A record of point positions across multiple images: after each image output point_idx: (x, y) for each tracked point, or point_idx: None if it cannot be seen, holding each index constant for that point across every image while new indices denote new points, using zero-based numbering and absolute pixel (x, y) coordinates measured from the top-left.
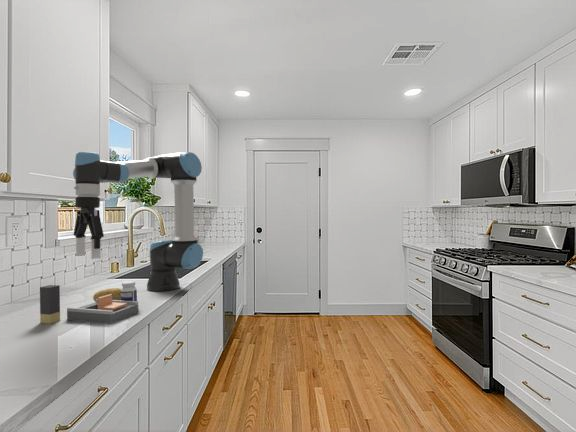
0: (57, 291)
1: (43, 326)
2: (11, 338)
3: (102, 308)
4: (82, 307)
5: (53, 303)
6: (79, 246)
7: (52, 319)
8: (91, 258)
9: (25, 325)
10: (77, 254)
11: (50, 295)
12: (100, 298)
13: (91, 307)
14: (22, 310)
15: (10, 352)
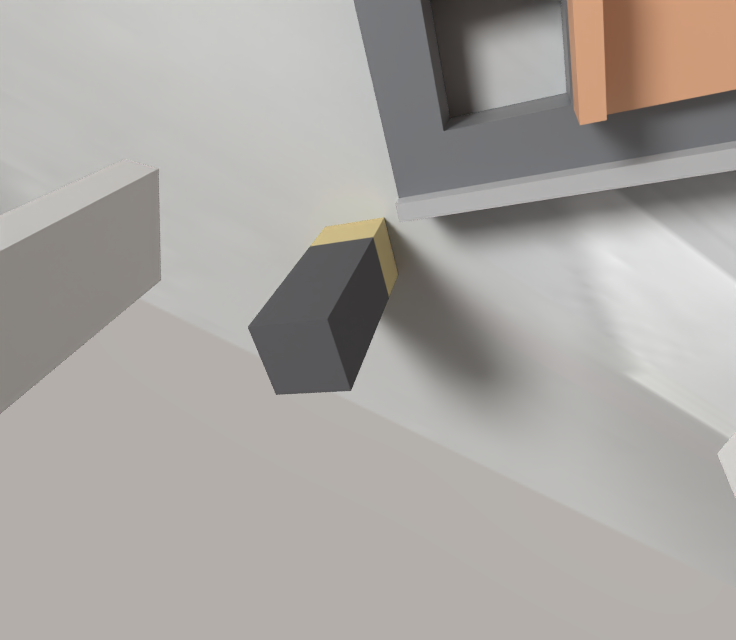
0: (343, 313)
1: (417, 312)
2: (463, 438)
3: (634, 106)
4: (404, 111)
5: (371, 304)
6: (51, 331)
7: (391, 268)
8: (728, 460)
9: None
10: (146, 287)
11: (361, 350)
12: (604, 109)
13: (430, 50)
14: (18, 177)
15: (618, 518)
